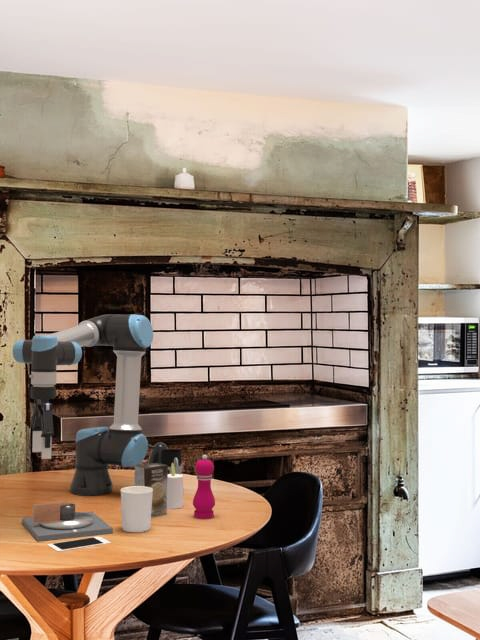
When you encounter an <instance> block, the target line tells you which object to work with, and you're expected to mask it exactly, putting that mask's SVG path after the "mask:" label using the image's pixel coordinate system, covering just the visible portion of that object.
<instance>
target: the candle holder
mask: <svg viewBox="0 0 480 640" xmlns="http://www.w3.org/2000/svg"><path fill="white" fill-rule="evenodd" d="M119 491H120V503H121V508H120V509H121V526H122V527H121V529H122V530H123V531H124V532H127V533H144V531H145V532H148V531H149V530H150V529H151V519H152V517H151V510H152V496H153V489H152V488H150V487H145V486H134V485H132V486H125V487H122V488H120V490H119Z"/></svg>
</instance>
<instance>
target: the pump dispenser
mask: <svg viewBox="0 0 480 640" xmlns="http://www.w3.org/2000/svg"><path fill="white" fill-rule="evenodd" d="M148 448H150V449H151V451H150V454H149V457H148V460H147V464H151V463H159V464H160V463H161V450H165V449H169V448H168V446H167V444H165V443H164V442H161V441H160V442H157V443H155V444H154V445H152V444H149V443H148Z"/></svg>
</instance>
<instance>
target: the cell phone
mask: <svg viewBox="0 0 480 640" xmlns="http://www.w3.org/2000/svg"><path fill="white" fill-rule="evenodd" d="M108 544H109V545H110V544H111V541H109V540H108V539H106V538H103V537H101V536H99V535H96V536H90V537H85V538H80V539H73V540H66V541H65V540H64V541H60V542H53V543H48V544H47V546H48V547H49V548H50V549H53V550H54V551H55V552H57V553H59V552H66V551H72V550H77V549H85V548H90V547H97V546H102V545H108Z"/></svg>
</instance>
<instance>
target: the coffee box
mask: <svg viewBox="0 0 480 640" xmlns="http://www.w3.org/2000/svg"><path fill="white" fill-rule="evenodd" d="M167 479H168V465H165V464H159V463H151V464H148V463H146V464H139V465H135V467H134V482H133V483H134V485H133V486H145V487H150V488H152V489H153V496H152V510H151V518H154V517H158V516H157V515H159V516H163V514H164V515H167V510H168V508H167Z"/></svg>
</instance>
